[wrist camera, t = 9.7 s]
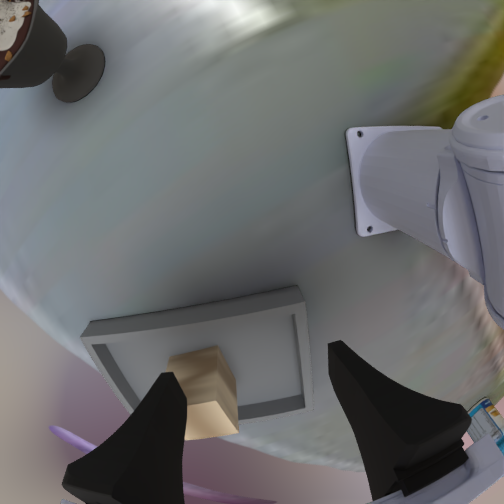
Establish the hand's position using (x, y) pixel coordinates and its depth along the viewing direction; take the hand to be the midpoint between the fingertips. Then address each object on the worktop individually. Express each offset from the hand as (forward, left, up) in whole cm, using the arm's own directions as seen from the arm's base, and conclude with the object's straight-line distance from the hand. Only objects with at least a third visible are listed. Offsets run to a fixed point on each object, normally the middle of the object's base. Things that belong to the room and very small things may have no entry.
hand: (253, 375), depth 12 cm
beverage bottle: (-42, +44, -10) cm, 62 cm away
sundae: (+9, -19, -10) cm, 23 cm away
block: (+5, +7, -9) cm, 12 cm away
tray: (+5, +8, -9) cm, 13 cm away
